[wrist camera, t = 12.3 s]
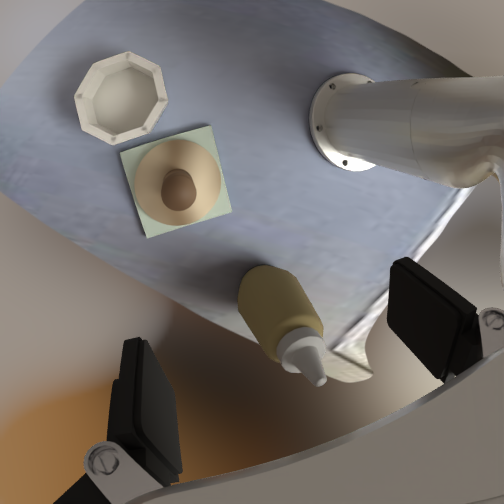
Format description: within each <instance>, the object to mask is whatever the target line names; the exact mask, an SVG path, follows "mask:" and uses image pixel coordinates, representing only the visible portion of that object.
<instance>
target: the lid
mask: <svg viewBox="0 0 504 504" xmlns="http://www.w3.org/2000/svg"><path fill="white" fill-rule="evenodd" d="M134 188H135V194H136V197H137V200H138V202H139V204H140V206H141V208H142V209H143V210H144V211H145V213H146V214H147V215H149V216H150V217H151V218H152V219H154V220H156V221H158V222H160V223H163V224H166V225H172V226H181V225H187V224H190V223H193V222H195V221H197V220H199V219H201V218H202V217H204V216H205V215H206V214H207V213H208V212H209V211H210V210H211V209H212V208H213V206H214V205H215V203H216V201H217V199H218V196H219V193H220V189H221V174H220V170H219V167H218V165H217V162H216V161H215V159H214V157H213V156H212V155H211V154H210V153H209V152H208V151H207V150H206V149H205V148H203V147H202V146H200V145H198V144H196V143H194V142H191V141H187V140H171V141H167V142H164V143H161V144H159V145H157V146H156V147H154V148H153V149H151V150H150V151H149V152H148V153H147V154H146V155H145V156H144V158H143V159H142V160H141V162H140V164H139V166H138V168H137V171H136V174H135V180H134Z"/></svg>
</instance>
